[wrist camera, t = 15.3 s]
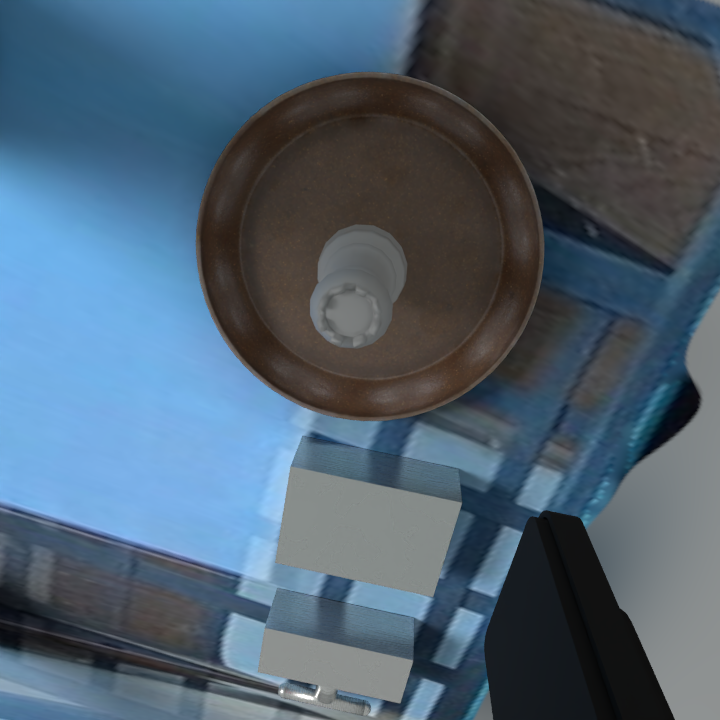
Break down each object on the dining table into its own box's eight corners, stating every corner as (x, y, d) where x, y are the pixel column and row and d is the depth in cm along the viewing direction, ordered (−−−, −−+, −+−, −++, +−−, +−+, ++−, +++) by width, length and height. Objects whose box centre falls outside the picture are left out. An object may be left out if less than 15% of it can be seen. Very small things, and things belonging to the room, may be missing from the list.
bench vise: (302, 435, 35) (290, 466, 32) (458, 469, 35) (462, 502, 32) (263, 668, 44) (251, 711, 40) (390, 696, 43) (388, 741, 40)
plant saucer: (292, 7, 27) (277, -8, 24) (602, 184, 29) (622, 189, 26) (171, 314, 34) (149, 330, 31) (429, 444, 35) (430, 471, 33)
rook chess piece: (302, 275, 29) (267, 327, 21) (353, 203, 27) (334, 233, 20) (372, 325, 30) (361, 392, 22) (425, 258, 28) (433, 307, 21)
